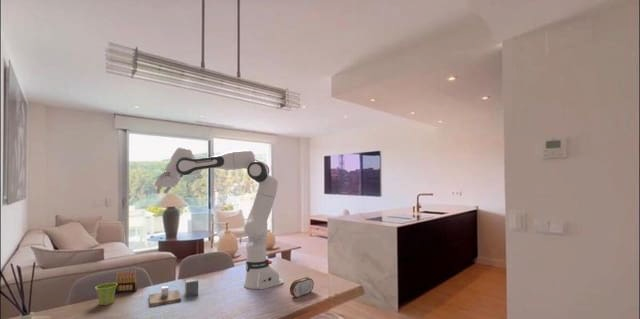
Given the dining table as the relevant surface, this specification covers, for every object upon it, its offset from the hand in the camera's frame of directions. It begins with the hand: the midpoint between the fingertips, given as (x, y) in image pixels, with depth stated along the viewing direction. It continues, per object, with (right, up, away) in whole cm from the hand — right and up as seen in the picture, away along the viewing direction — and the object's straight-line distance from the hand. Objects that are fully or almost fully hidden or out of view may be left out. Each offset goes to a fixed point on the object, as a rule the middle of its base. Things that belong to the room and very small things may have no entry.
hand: (161, 193), depth 191 cm
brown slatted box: (-14, -53, -12) cm, 56 cm away
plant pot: (-14, -53, -28) cm, 61 cm away
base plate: (+13, -52, -23) cm, 59 cm away
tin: (+84, -52, -19) cm, 101 cm away
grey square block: (+24, -52, -17) cm, 60 cm away
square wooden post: (+13, -51, -23) cm, 57 cm away
